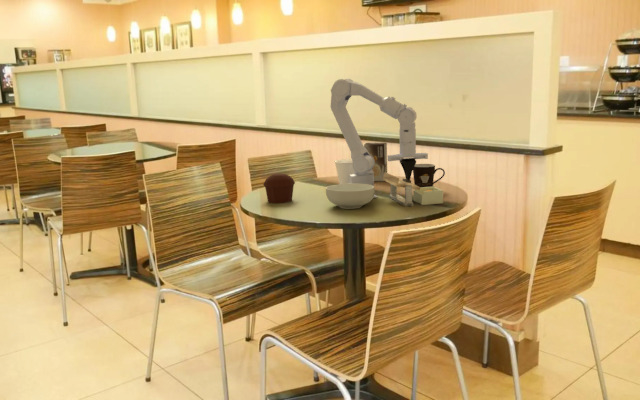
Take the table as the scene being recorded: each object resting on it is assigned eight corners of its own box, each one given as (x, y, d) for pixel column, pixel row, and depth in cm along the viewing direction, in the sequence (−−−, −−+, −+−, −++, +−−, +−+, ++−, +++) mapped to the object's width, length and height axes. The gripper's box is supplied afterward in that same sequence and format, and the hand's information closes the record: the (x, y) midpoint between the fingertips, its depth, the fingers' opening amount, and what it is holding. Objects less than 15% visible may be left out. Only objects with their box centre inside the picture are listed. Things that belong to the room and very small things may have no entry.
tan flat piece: (395, 186, 199) (397, 178, 199) (382, 179, 213) (384, 172, 212) (419, 190, 201) (421, 182, 201) (405, 183, 215) (407, 176, 214)
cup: (359, 185, 243) (359, 158, 241) (359, 189, 233) (358, 162, 231) (336, 185, 244) (335, 159, 242) (334, 189, 234) (333, 162, 232)
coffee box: (388, 179, 255) (387, 142, 252) (385, 181, 249) (384, 144, 246) (367, 178, 258) (366, 142, 254) (364, 181, 252) (363, 144, 248)
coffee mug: (409, 192, 224) (409, 166, 222) (416, 188, 231) (416, 163, 229) (438, 194, 218) (439, 167, 216) (445, 190, 226) (445, 164, 224)
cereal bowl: (384, 205, 202) (384, 185, 201) (352, 214, 191) (351, 193, 190) (348, 199, 214) (348, 180, 213) (316, 207, 203) (315, 187, 202)
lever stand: (404, 206, 200) (404, 186, 198) (389, 197, 216) (389, 178, 215) (413, 205, 200) (413, 185, 199) (397, 196, 217) (396, 178, 215)
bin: (422, 204, 201) (422, 192, 200) (413, 200, 209) (413, 187, 208) (443, 203, 203) (443, 190, 202) (433, 198, 211) (433, 186, 210)
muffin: (266, 205, 210) (265, 177, 208) (261, 199, 220) (260, 173, 218) (299, 202, 213) (298, 175, 211) (292, 196, 223) (291, 170, 221)
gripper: (391, 144, 203) (392, 182, 206) (431, 141, 206) (431, 179, 209) (385, 142, 210) (386, 179, 213) (423, 140, 213) (423, 177, 216)
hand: (408, 179), depth 211 cm, fingers closed, pressing on tan flat piece
